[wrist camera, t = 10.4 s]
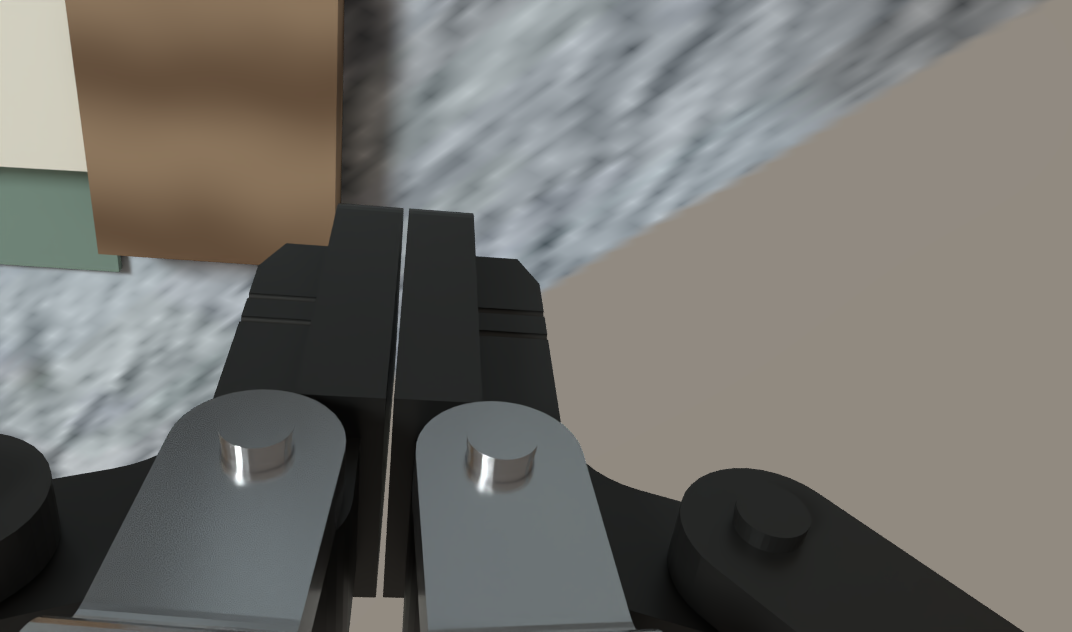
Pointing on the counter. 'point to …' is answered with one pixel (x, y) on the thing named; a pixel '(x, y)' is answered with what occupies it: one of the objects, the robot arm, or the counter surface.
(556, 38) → the counter surface
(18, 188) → the mat
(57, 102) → the cream flat block
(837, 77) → the counter surface
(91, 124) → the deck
